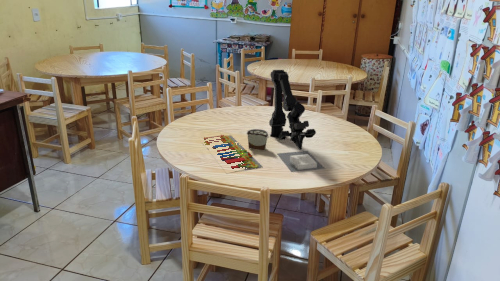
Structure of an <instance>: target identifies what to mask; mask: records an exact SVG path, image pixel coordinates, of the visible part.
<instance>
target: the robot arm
mask: <svg viewBox="0 0 500 281" xmlns="http://www.w3.org/2000/svg"><path fill="white" fill-rule="evenodd" d="M270 78H271V82H272V84H273V85H274V90H273V91H274V110H273V112H272V113H271V117H270V120H269V122H268V123H269V126H270V127H271V129H270V130H271V131H270V135H269V136H270V137H275V138H279V139H278V140H279V141H285V140H286V139H287V138H289V137H290V138H289V141H290V142H293V144H294V145H296V147H297V149H299V150H300V151H302V149H303V143H304V139H305V138H307V139H311V138H313V137H314V136H315V135H316V134H317V131H316V129H314V128H309V126H310V123H309V120H304V121H303V122H302V120H300V118H301V117H302V115H303V114H304V113H305V111H306V107H305V106H304V104H302V103H300V101H298V100H297V98H296V97H295V96H294V95H293V91H292V87H291V84H290V80H289V74H288V72H287V71H285V70H284V69H272V71H271V72H270ZM285 112H288V113H287V114H286V113H285ZM286 115H287V116H286ZM287 120H288V124H289V126H288V128H289V130H290V131H289V130H284V127H286V124H287ZM307 128H308V129H307ZM305 129H307V130H305ZM304 130H305V131H304Z"/></svg>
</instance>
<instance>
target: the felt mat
mask: <svg viewBox="0 0 500 281" xmlns="http://www.w3.org/2000/svg"><path fill="white" fill-rule="evenodd" d="M304 154H308V155H309V156H310V157H311V158H312V159H313V160H314V161H315V162H316V163H317V168H310V169H300V170H298V169H297V168H296V167H295V166H294V165H293V163H292V162H291V161H290V156H293V155H304ZM276 156H278V157H279V159H280V161H282V162H283V163H284V164H285V166H286V167H287V168H288V170H289V171H290V172H291V173H296V172H298V173H299V172H306V171H314V170H315V171H316V170H325V169H326V167H324V166H323V165H322V164H321V162H320V161H318V159H317V158H316V157H314V156H313V154H311V153H310V151H308V150H300V151H291V152H289V151H288V152H279V153H276Z"/></svg>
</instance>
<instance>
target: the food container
mask: <svg viewBox="0 0 500 281" xmlns="http://www.w3.org/2000/svg"><path fill="white" fill-rule="evenodd" d="M246 135H247V142H248V149H251V150H252V149H254V150H259V151H260V150H261V151H266V147H267V141H268V137H269V132H268V131H266V130H264V129H259V128H254V129H253V128H252V129H249V130H247V132H246Z"/></svg>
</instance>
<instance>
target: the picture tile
mask: <svg viewBox="0 0 500 281" xmlns="http://www.w3.org/2000/svg"><path fill="white" fill-rule="evenodd" d="M290 161H291V162H292V163H293V165H294V166H295V167H296V168H297V169H298V170H300V169H310V168H317V163H316V162H315V161H314V160H313V159H312V158H311V157H310V156H309V155H308V154H304V155H293V156H290Z"/></svg>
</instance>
